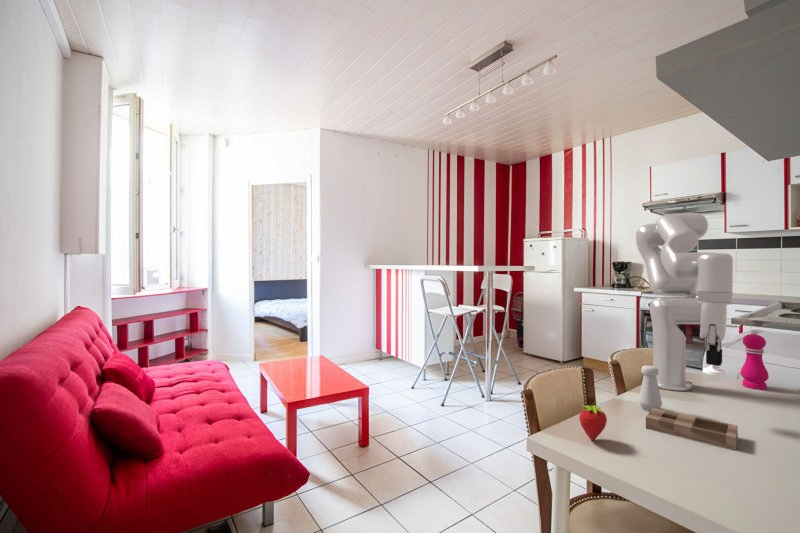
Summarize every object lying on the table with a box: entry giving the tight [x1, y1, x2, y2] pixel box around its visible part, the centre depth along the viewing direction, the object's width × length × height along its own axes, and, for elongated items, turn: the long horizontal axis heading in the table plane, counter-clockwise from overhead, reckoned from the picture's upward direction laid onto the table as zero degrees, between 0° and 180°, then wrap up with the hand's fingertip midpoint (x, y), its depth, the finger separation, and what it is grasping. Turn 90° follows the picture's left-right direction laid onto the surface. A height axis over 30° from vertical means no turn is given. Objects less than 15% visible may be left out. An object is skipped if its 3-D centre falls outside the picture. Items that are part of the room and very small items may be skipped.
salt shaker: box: [638, 364, 663, 413], centre depth 115 cm, size 6×6×13 cm
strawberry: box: [578, 401, 608, 441], centre depth 96 cm, size 6×8×10 cm
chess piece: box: [702, 365, 727, 376], centre depth 107 cm, size 5×5×10 cm
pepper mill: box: [740, 329, 769, 391], centre depth 134 cm, size 7×7×20 cm
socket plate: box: [645, 408, 739, 451], centre depth 99 cm, size 9×18×3 cm, turn 46°
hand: (714, 363), depth 107 cm, fingers closed on chess piece
